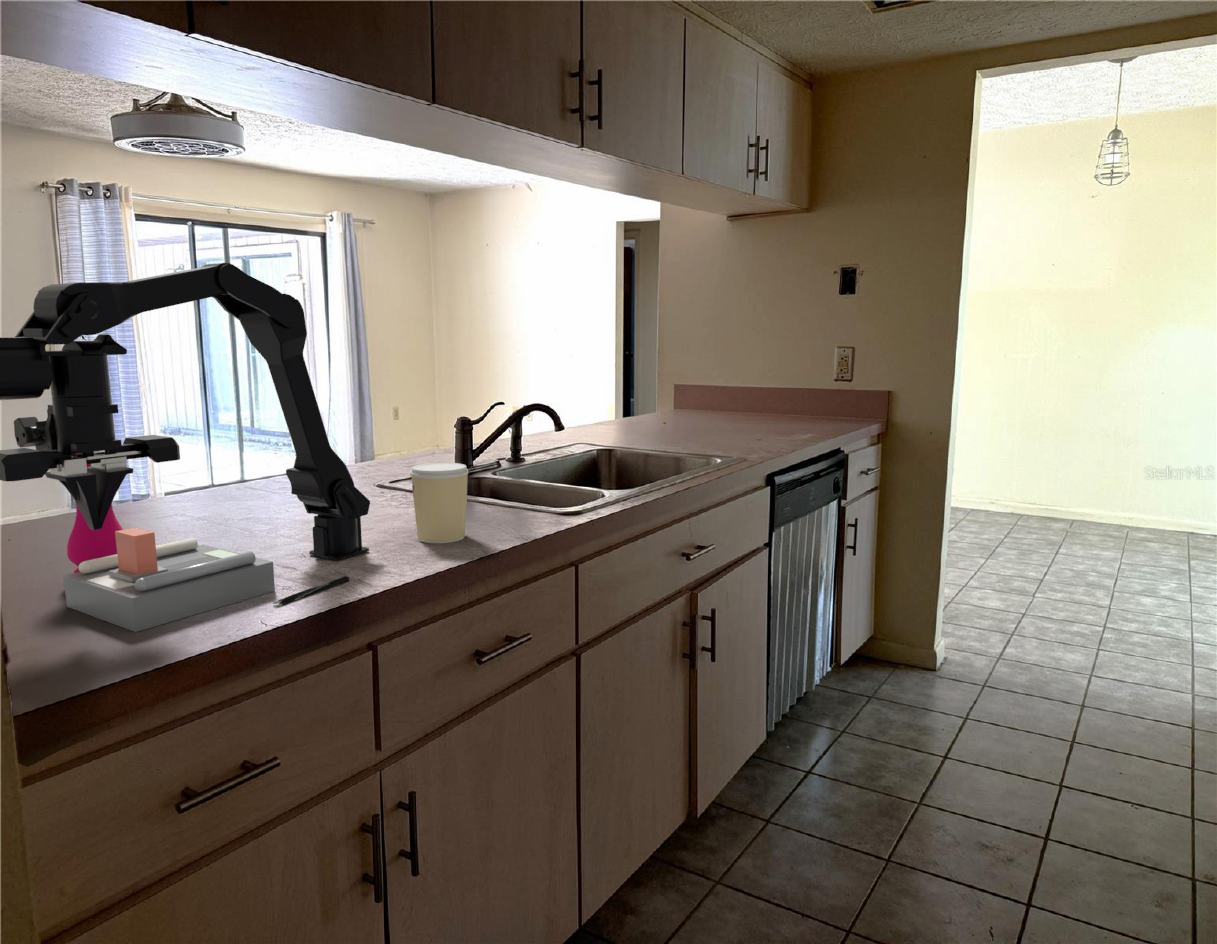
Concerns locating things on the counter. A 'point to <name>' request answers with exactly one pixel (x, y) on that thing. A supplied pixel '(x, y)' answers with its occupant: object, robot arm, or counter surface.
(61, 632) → the counter surface
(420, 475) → the coffee cup
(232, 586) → the box
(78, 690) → the counter surface
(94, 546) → the pepper mill
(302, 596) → the black thin rod
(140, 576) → the lever
